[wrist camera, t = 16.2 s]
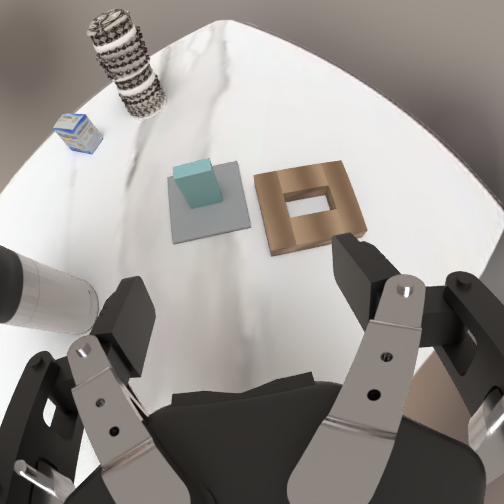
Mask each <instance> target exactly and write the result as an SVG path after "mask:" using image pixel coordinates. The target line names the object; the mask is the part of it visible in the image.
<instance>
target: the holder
mask: <svg viewBox="0 0 504 504" xmlns="http://www.w3.org/2000/svg"><path fill="white" fill-rule="evenodd" d="M254 182H255V188H256V192H257V196H258V200H259V205H260V209H261V213H262V218H263V222H264V226H265V231H266V235H267V239H268V244H269V248H270V253H271V257H272V256H276V255H281V254H286V253H291V252H295V251H300V250H305V249H309V248H314V247H319V246H324V245H328V244H332V236H333V235H338V234H343V233H348V232H351V233H352V234H353V235H354V236H355V237H356V238H361V237H362V236H363V235H364V234H365V232H366V231H367V227H366V224H365V222H364V219H363V216H362V213H361V210H360V207H359V204H358V202H357V199H356V196H355V194H354V191H353V188H352V186H351V183H350V181H349V178H348V175H347V173H346V170H345V168H344V166H343V163H342V161H334V162H327V163H320V164H314V165H307V166H301V167H295V168H290V169H284V170H279V171H273V172H268V173H263V174H257V175H254ZM321 195H326V197H327V200H328V203H329V206H330V210H329V211H324V212H318V213H313V214H308V215H303V216H298V217H293V218H289V214H288V210H287V206H286V203H285V202H289V201H294V200H299V199H305V198H310V197H315V196H321Z"/></svg>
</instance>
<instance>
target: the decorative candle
mask: <svg viewBox="0 0 504 504" xmlns="http://www.w3.org/2000/svg"><path fill="white" fill-rule="evenodd" d="M129 14H130V12H129V11H123V10H121V9H113V10H110V11H107V12H105V13H103V14H101V15H100V16H98V17H97V18H95V19H94V20H93V21H92V22H91V24H90V26H89V30H88V31H87V33H86V35H88V36H91V40H92V41H93V43H94V45H93V46H94V48H95V50H96V51H97V52H98V53H97V54H96V56H97V60H98V61H99V62H100V66H102V68H104V69H105V73H107V74H108V78H110V80H112V81H114V82H115V84H116V85H117V89H118V91H119V96H120V97H121V99H122V101H123V102H124V104H125V107H126V108H127V109H128V112H129V113H130V114H131V116H132V117H133V118H134V119H135V120H139V121H141V120H147V119H149V118H152V117H154V116H156V115H157V114H158V113H160V112H161V111H162V110H163V108H164V107H165V105H166V102H167V101H166V97H165V95H163V94H164V92H163V90H161V89H162V86H160V84H159V82H160V81H159V80H158V78H157V75H155V74H154V72H153V69H152V68H151V67H150V64H149V62H150V58H149V55H146V52H147V48H146V47H144V46H145V42H144V41H141V40H140V39H141V38H142V37H143V36H142V33H139V31H140V27H136V26H135V25H134V24H133V23H132V20H131V18H130V16H129ZM136 31H137V32H136ZM100 56H101V58H100ZM104 63H105V64H106V65H105V64H104Z"/></svg>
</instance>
